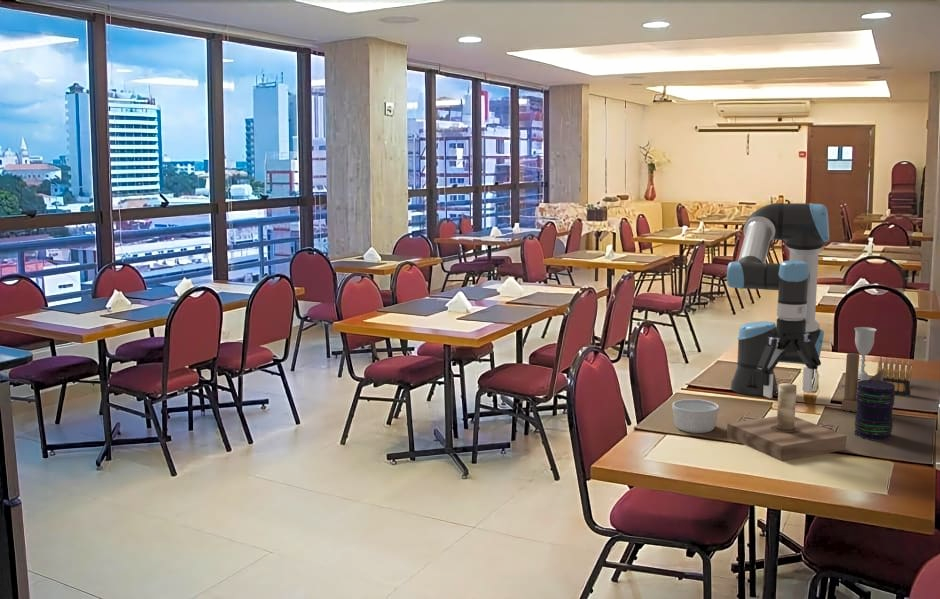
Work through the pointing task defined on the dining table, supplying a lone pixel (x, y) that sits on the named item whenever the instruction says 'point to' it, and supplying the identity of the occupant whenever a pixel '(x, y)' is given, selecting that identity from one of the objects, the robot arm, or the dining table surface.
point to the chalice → (864, 346)
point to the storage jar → (874, 409)
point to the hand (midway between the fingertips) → (787, 394)
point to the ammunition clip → (897, 375)
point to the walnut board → (786, 438)
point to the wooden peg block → (854, 382)
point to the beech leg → (786, 407)
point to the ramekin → (695, 415)
